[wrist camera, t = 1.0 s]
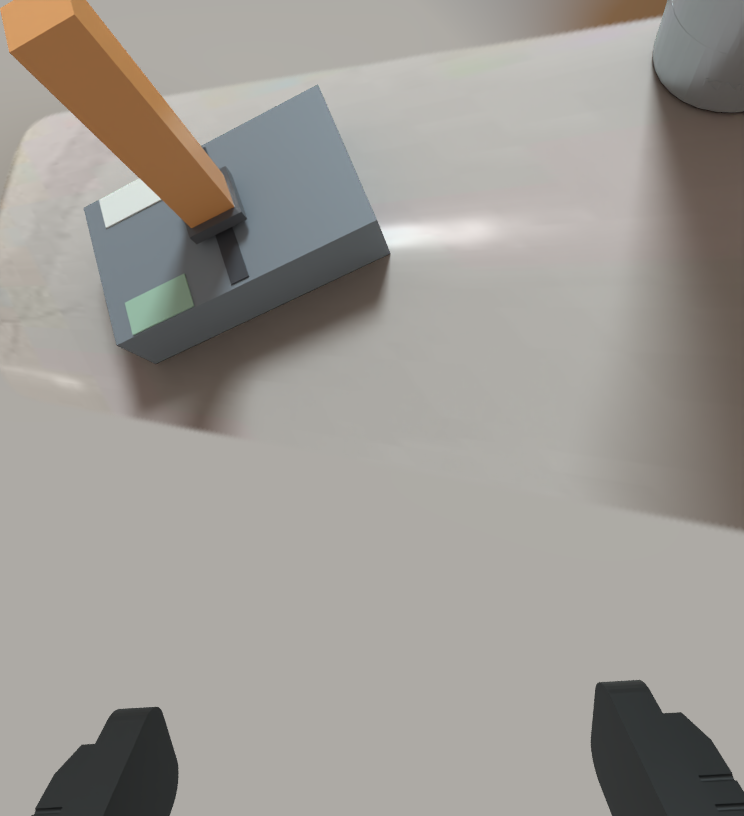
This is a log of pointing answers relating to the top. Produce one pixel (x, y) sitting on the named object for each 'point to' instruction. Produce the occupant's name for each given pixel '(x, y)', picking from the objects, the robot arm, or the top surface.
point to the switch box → (236, 234)
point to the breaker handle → (121, 109)
